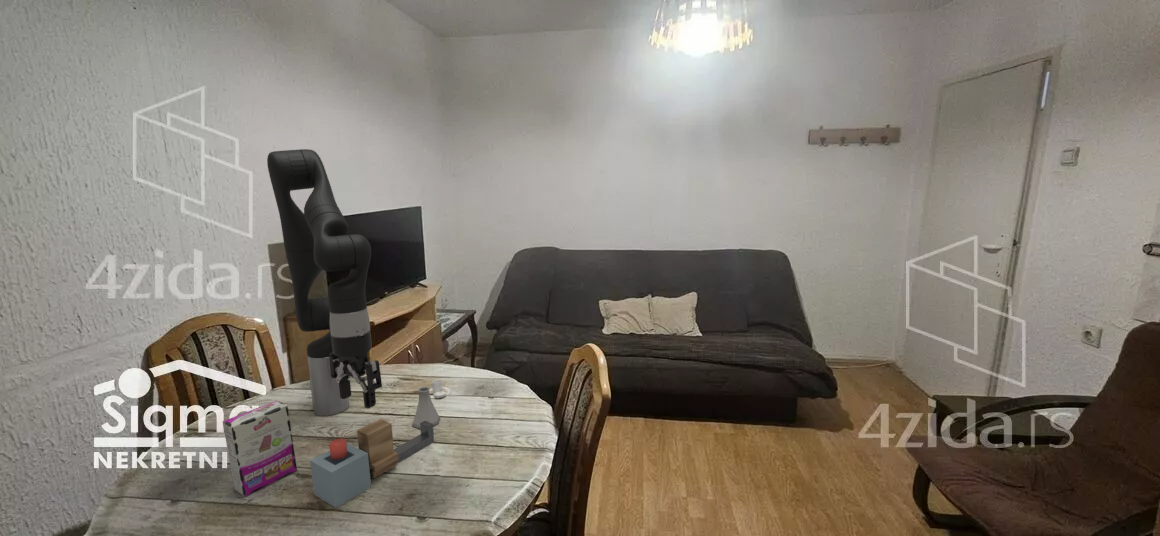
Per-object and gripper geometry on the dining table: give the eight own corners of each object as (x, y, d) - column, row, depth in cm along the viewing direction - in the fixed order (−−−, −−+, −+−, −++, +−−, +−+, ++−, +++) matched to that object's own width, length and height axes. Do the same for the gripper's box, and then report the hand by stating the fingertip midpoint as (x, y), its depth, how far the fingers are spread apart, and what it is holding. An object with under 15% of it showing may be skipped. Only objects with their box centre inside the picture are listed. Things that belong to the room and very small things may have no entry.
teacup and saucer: (446, 400, 145) (445, 388, 144) (420, 400, 145) (419, 388, 144) (454, 388, 153) (453, 376, 152) (429, 388, 153) (428, 376, 153)
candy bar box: (286, 464, 112) (277, 399, 109) (297, 470, 110) (289, 404, 107) (232, 490, 103) (221, 420, 100) (243, 498, 100) (232, 426, 97)
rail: (356, 478, 107) (353, 458, 106) (426, 438, 123) (424, 420, 122) (364, 482, 105) (362, 462, 104) (434, 441, 121) (432, 423, 120)
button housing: (314, 494, 101) (309, 460, 100) (349, 474, 108) (345, 442, 107) (335, 508, 97) (331, 472, 96) (371, 486, 104) (367, 453, 102)
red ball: (327, 456, 101) (325, 443, 100) (341, 449, 103) (340, 436, 103) (336, 461, 99) (334, 448, 98) (350, 454, 102) (349, 441, 101)
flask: (431, 431, 127) (429, 395, 125) (407, 428, 128) (404, 393, 126) (444, 417, 134) (442, 384, 132) (421, 415, 135) (418, 382, 133)
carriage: (357, 469, 109) (352, 428, 107) (380, 456, 114) (376, 417, 112) (376, 479, 105) (371, 437, 103) (399, 465, 110) (395, 425, 108)
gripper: (313, 329, 101) (322, 401, 104) (355, 340, 93) (362, 417, 96) (346, 320, 107) (353, 388, 110) (388, 330, 100) (394, 402, 103)
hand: (358, 402), depth 103 cm, fingers open, 8 cm apart
